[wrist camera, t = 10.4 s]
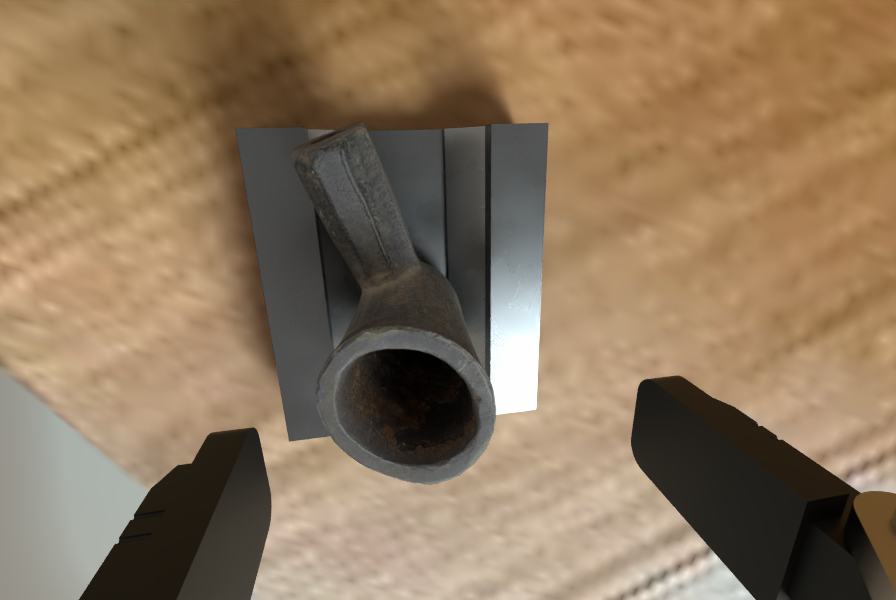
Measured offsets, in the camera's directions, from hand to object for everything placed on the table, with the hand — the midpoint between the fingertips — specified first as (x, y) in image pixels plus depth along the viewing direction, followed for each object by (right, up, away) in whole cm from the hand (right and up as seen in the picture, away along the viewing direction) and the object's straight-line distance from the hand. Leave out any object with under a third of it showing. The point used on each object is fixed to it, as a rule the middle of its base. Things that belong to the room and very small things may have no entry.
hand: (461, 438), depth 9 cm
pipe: (-3, +5, +12) cm, 13 cm away
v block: (-3, +4, +14) cm, 15 cm away
